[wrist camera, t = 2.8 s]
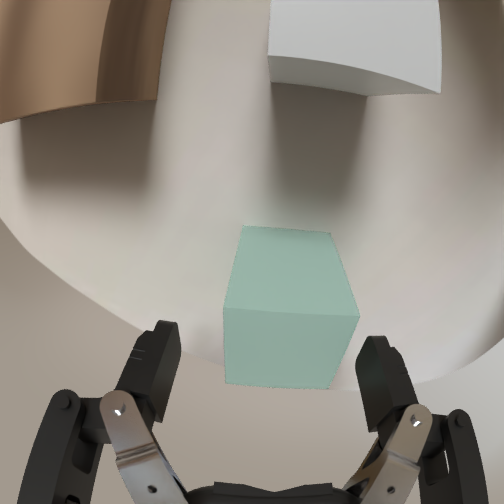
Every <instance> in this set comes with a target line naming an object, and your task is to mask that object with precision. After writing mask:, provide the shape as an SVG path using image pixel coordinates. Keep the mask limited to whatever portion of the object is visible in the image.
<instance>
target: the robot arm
mask: <svg viewBox="0 0 504 504" xmlns="http://www.w3.org/2000/svg"><path fill="white" fill-rule="evenodd" d="M180 357H181V342H180V336H179V330H178V325H177V323H176V322H170V321H163V320H159V321H158V322H157V324H156V326H155V329H154V331H148V330H146V331H145V332H144V333H143V334H142V335H141V336H139V337H138V339H137V341H136V343H135V345H134V347H133V350H132V352H131V354H130V357H129V358H128V360H127V363H126V365H125V367H124V369H123V372H122V374H121V377H120V379H119V381H118V384H117V386H116V388H115V389H114V391H111V392H108V393H107V394H105V395H104V397H101V398H79V397H78V395H77V394H76V393H75V392H73V391H71V390H68V389H67V390H66V389H64V390H60V391H58V392H56V393H55V394H54V395H53V397H52V399H51V401H50V403H49V405H48V408H47V410H46V413H45V415H44V417H43V420H42V423H41V425H40V428H39V430H38V433H37V436H36V439H35V441H34V444H33V447H32V450H31V453H30V456H29V459H28V463H27V466H26V469H25V473H24V476H23V480H22V484H21V488H20V492H19V497H18V501H17V504H90V501H91V495H92V491H93V486H94V482H95V477H96V473H97V469H98V464H99V461H100V457H101V453H102V449H103V445H104V444H112V446H113V448H114V451H115V453H116V456H117V459H116V464H117V467H118V470H119V472H120V474H121V476H122V479H123V481H124V483H125V485H126V487H127V489H128V491H129V493H130V495H131V497H132V499H133V501H134V502H135V504H404V503H405V501H406V499H407V497H408V496H409V494H410V492H411V489H412V488H413V485H414V483H415V481H416V479H417V477H418V480H419V488H420V499H421V504H489V502H488V495H487V487H486V481H485V475H484V470H483V465H482V461H481V456H480V452H479V448H478V444H477V440H476V436H475V433H474V429H473V426H472V423H471V419H470V417H469V415H468V414H467V413H466V412H465V411H463V410H461V409H456V410H454V411H452V412H451V413H450V414H449V415H448V416H446V415H437V414H431V412H430V411H429V409H427V408H426V407H425V406H423V405H421V404H419V403H418V400H417V397H416V394H415V391H414V388H413V385H412V382H411V380H410V377H409V375H408V371H407V369H406V367H405V363H404V361H403V358H402V356H401V354H400V353H399V352H398V351H397V350H396V349H395V347H390V345H389V342H388V340H387V338H386V337H385V336H368V337H367V338H366V340H365V342H364V345H363V347H362V349H361V351H360V353H359V354H358V356H357V359H356V363H355V370H356V375H357V379H358V383H359V388H360V392H361V397H362V401H363V405H364V411H365V416H366V421H367V426H368V431H369V432H376V431H378V437H377V438H376V440H375V442H374V444H373V445H372V447H371V449H370V451H369V453H368V454H367V456H366V458H365V459H364V461H363V462H362V464H361V466H360V467H359V469H358V470H357V472H356V473H355V474H354V475H353V476H352V477H351V478H350V479H349V481H348V482H347V483H346V484H345V485H344V487H343V488H342V489H338V488H334V487H332V483H324V484H313V485H303V486H299V487H295V488H291V489H287V490H283V491H278V492H271V491H267V490H263V489H259V488H255V487H251V486H248V485H244V484H232V483H223V482H214V485H213V486H206V487H201V488H198V489H194V490H192V491H189V492H187V490H186V489H185V487H184V486H183V484H182V483H181V481H180V479H179V478H178V476H177V475H176V473H175V472H174V470H173V469H172V467H171V465H170V464H169V462H168V460H167V459H166V457H165V455H164V453H163V451H162V449H161V447H160V446H159V444H158V442H157V440H156V438H155V436H154V434H153V432H152V427H153V423H154V421H156V422H160V423H162V421H163V417H164V414H165V410H166V406H167V403H168V399H169V396H170V392H171V389H172V385H173V381H174V378H175V375H176V371H177V368H178V365H179V361H180ZM445 450H446V454H447V459H448V465H449V474H448V468H447V463H446V458H445V452H444V451H445Z"/></svg>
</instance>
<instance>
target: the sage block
mask: <svg viewBox="0 0 504 504" xmlns="http://www.w3.org/2000/svg"><path fill="white" fill-rule="evenodd" d="M359 318H360V313H359V310H358V307H357V304H356V301H355V298H354V295H353V293H352V290H351V287H350V284H349V281H348V279H347V276H346V273H345V270H344V268H343V265H342V262H341V260H340V257H339V254H338V252H337V249H336V247H335V244H334V242H333V239H332V237H331V234H330V233H326V232H315V231H304V230H293V229H282V228H270V227H257V226H244V225H243V228H242V232H241V236H240V240H239V244H238V248H237V252H236V256H235V261H234V265H233V269H232V273H231V277H230V281H229V285H228V289H227V294H226V298H225V302H224V306H223V319H224V357H225V382H226V383H227V384H237V385H247V386H259V387H274V388H298V389H328V388H329V386H330V384H331V382H332V380H333V378H334V376H335V374H336V371H337V369H338V367H339V365H340V363H341V361H342V358H343V356H344V354H345V352H346V349H347V347H348V345H349V342H350V340H351V338H352V335H353V333H354V330H355V328H356V326H357V323H358V320H359Z"/></svg>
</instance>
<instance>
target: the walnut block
mask: <svg viewBox="0 0 504 504" xmlns="http://www.w3.org/2000/svg"><path fill="white" fill-rule="evenodd" d="M170 5H171V0H0V124H2V123H5V122H9V121H13V120H17V119H21V118H25V117H29V116H33V115H37V114H41V113H46V112H51V111H56V110H61V109H67V108H73V107H80V106H87V105H95V104H103V103H113V102H126V101H143V100H157V93H158V83H159V74H160V66H161V58H162V51H163V44H164V38H165V32H166V26H167V20H168V15H169V10H170Z"/></svg>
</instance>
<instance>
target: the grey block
mask: <svg viewBox="0 0 504 504" xmlns="http://www.w3.org/2000/svg"><path fill="white" fill-rule="evenodd" d="M268 63H269V73H270V82H277V83H288V84H298V85H306V86H314V87H321V88H327V89H333V90H339V91H344V92H350V93H355V94H359V95H364V96H377V95H393V94H440V93H441V71H442V45H441V25H440V13H439V4H438V0H271V6H270V24H269V41H268Z"/></svg>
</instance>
